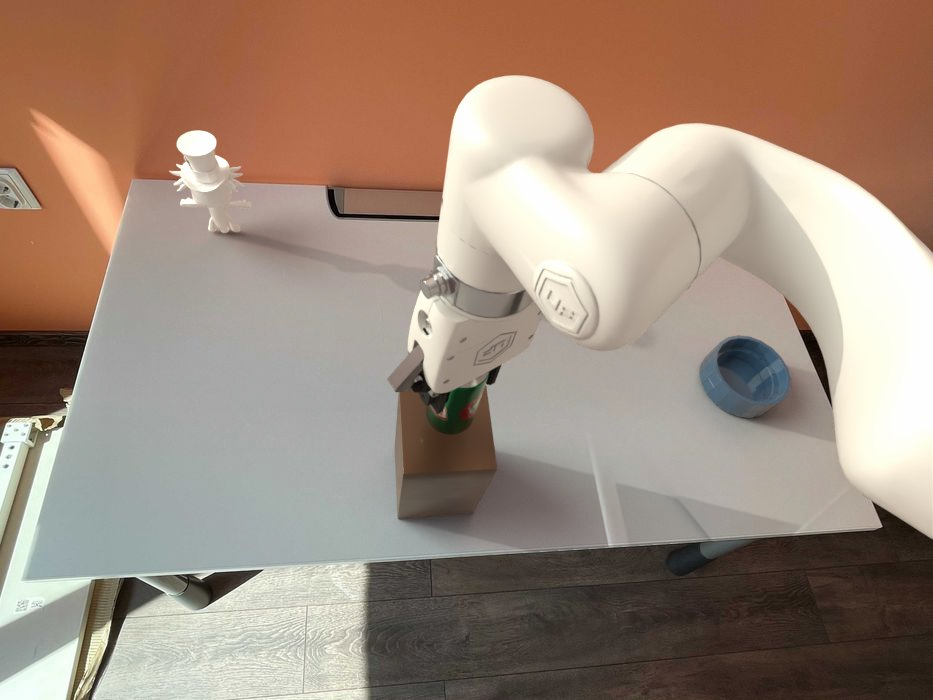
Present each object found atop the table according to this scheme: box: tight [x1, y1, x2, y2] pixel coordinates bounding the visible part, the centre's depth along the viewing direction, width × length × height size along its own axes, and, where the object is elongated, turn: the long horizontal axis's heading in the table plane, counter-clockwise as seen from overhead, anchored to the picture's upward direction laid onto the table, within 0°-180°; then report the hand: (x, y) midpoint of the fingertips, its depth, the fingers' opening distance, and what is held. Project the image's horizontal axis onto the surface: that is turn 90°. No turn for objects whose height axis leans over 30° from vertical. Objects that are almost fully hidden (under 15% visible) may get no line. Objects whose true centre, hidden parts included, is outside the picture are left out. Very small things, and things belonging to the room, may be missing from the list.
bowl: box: [699, 335, 792, 419], centre depth 91 cm, size 12×12×5 cm
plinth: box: [394, 384, 498, 520], centre depth 71 cm, size 10×10×18 cm
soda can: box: [426, 371, 490, 435], centre depth 55 cm, size 5×5×12 cm
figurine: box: [168, 129, 253, 234], centre depth 87 cm, size 10×8×18 cm
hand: (457, 385), depth 54 cm, fingers closed on soda can, 5 cm apart
